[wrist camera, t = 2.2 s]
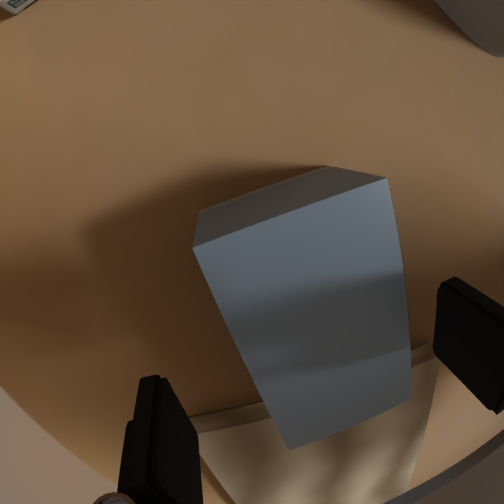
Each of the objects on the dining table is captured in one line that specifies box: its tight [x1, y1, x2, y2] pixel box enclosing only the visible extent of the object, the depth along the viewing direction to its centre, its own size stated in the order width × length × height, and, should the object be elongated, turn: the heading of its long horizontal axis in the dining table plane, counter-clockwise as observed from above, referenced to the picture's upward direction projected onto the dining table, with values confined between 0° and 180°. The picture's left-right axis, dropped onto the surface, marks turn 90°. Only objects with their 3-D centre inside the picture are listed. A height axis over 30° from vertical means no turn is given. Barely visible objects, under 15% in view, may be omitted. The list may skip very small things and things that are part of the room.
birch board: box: [189, 343, 439, 504], centre depth 22 cm, size 16×28×2 cm, turn 13°
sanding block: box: [192, 166, 412, 450], centre depth 13 cm, size 6×10×6 cm, turn 19°
